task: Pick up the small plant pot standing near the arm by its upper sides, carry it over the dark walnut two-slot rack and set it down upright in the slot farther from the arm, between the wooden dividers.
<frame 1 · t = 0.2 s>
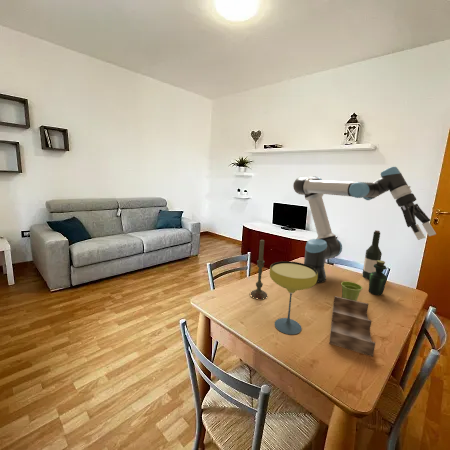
hand: (427, 237, 110), 35 cm above the table, tool tilted 35°, fingers open, 13 cm apart
cocktail glass: (287, 326, 99), on the table
rack: (349, 327, 100), on the table
plant pot: (349, 301, 121), on the table
potion bottle: (375, 293, 131), on the table
candlestick holder: (258, 295, 124), on the table
wine bottle: (369, 277, 152), on the table
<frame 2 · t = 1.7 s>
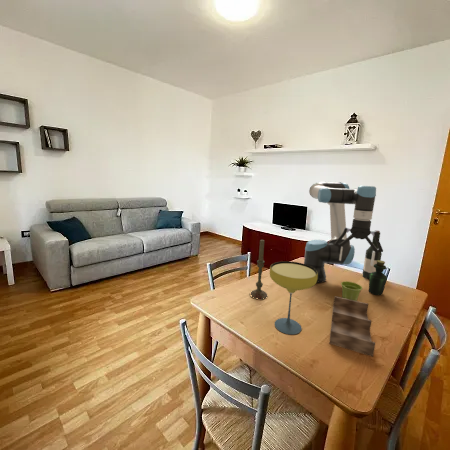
hand: (355, 262, 117), 21 cm above the table, tool pointing down, fingers open, 13 cm apart
nothing on the table moved.
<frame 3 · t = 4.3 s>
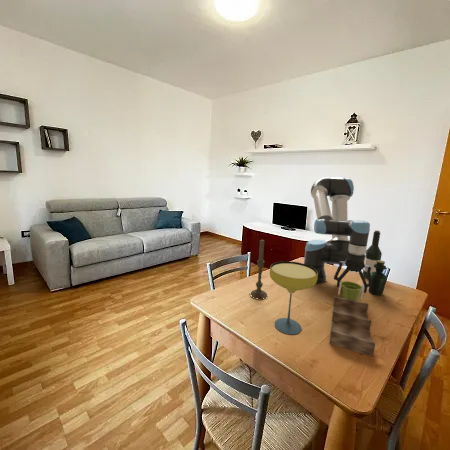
hand: (350, 295, 120), 3 cm above the table, tool pointing down, fingers closed on plant pot, 9 cm apart
plant pot: (349, 301, 121), on the table, touching gripper
everything else where it was.
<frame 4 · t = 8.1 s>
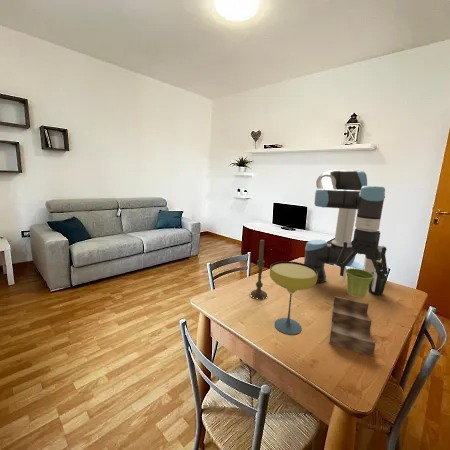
hand: (357, 287, 91), 20 cm above the table, tool pointing down, fingers closed on plant pot, 9 cm apart
plant pot: (356, 294, 92), point 17 cm above the table, touching gripper
everything else where it was.
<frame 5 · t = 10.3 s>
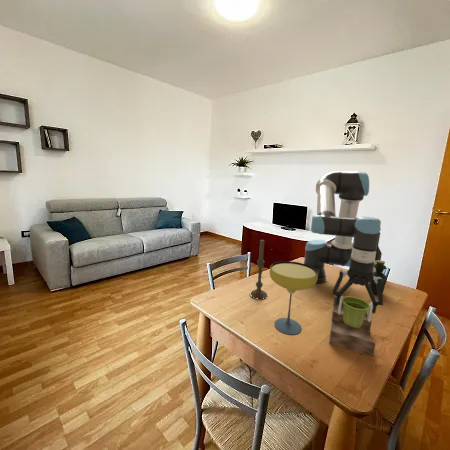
hand: (353, 316, 91), 9 cm above the table, tool pointing down, fingers closed on plant pot, 9 cm apart
plant pot: (352, 323, 92), point 6 cm above the table, touching gripper
everything else where it was.
when the fingers open (6 cm above the table, at t = 11.9 s): plant pot drops 2 cm, resting on rack.
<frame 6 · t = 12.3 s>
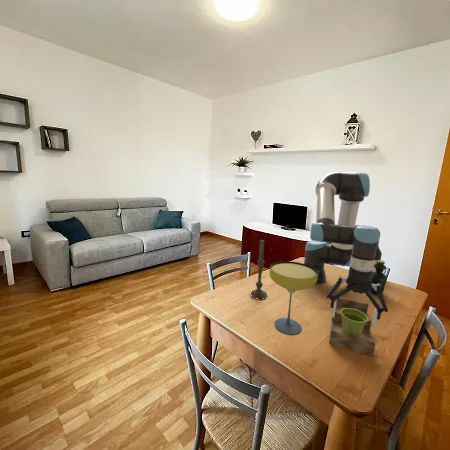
hand: (352, 320, 92), 7 cm above the table, tool pointing down, fingers open, 13 cm apart
plant pot: (351, 335, 93), point 1 cm above the table, touching rack
everything else where it was.
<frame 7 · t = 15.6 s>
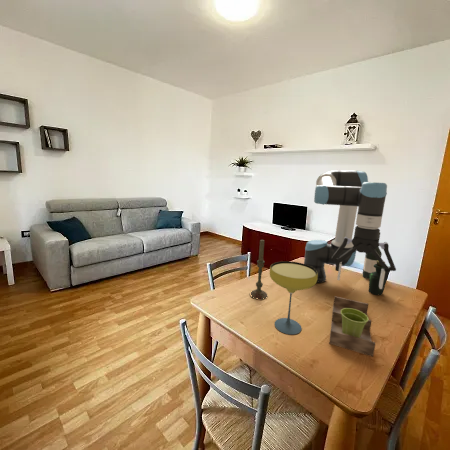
hand: (358, 283, 89), 23 cm above the table, tool pointing down, fingers open, 13 cm apart
nothing on the table moved.
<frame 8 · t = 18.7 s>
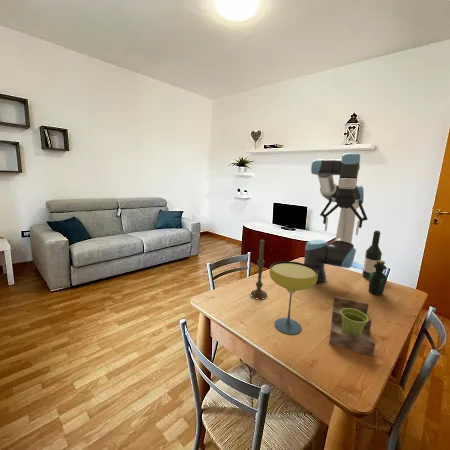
hand: (340, 232, 116), 35 cm above the table, tool pointing down, fingers open, 13 cm apart
nothing on the table moved.
at the end: plant pot inside the target area on the rack (0.2 cm from its centre), point 1.0 cm above the rack's base; plant pot tilted 0°; the gripper is holding nothing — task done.
